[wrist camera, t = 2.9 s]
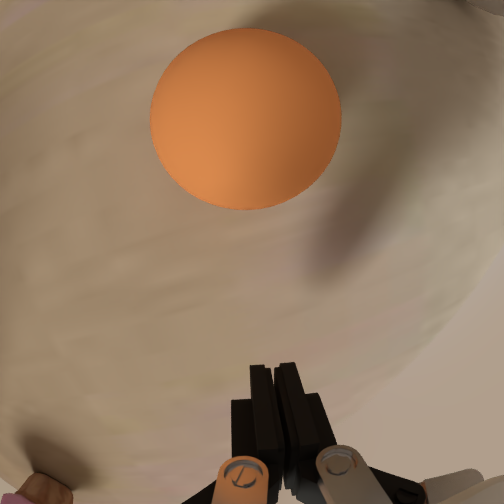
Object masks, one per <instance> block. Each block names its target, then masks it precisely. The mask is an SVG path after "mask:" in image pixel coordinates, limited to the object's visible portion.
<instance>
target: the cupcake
mask: <svg viewBox="0 0 504 504" xmlns="http://www.w3.org/2000/svg"><path fill="white" fill-rule="evenodd" d="M1 504H73V494H72V492H71V490H70V489H69V488H67V487H66V486H65V485H63V484H61V483H60V482H58V481H56V480H54V479H52V478H50V477H49V476H47V475H45V474H41V473H34V474H32V475H31V476H29V477H28V479H27V480H26V481H25V483H24V484H23V485H22V486H21V488H20V489H19V490H18V491H16V492H15V494H12V493H8V494H7V493H6V494H3V496H2V500H1Z"/></svg>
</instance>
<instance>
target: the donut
mask: <svg viewBox="0 0 504 504" xmlns="http://www.w3.org/2000/svg"><path fill="white" fill-rule="evenodd" d="M466 1H467V2H469V3H470V4H472V5H473V6H476V7H478V8H481V9H483V10H485V11H488V12H490V13H492V14H495V15H500V16H504V0H466Z"/></svg>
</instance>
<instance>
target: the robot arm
mask: <svg viewBox="0 0 504 504" xmlns="http://www.w3.org/2000/svg"><path fill="white" fill-rule="evenodd" d="M250 386H251V399H240V400H231V434H232V458H231V459H229V460H227V461H226V462H225V463H224V464H223V465H222V466H221V467H220V470H219V472H218V477H217V480H215V481H214V482H213V483H211V484H210V485H208V486H207V487H206V488H204V489H203V490H201V491H200V492H198V493H197V494H195V495H194V496H192V497H191V498H189V499H188V500H186V501H185V502H183V503H182V504H276V503H277V502H278V493H279V490H281V485H282V477H283V479H284V485H285V489H291V492H292V496H294V495H296V499H297V500H299V501H300V502H302V503H304V504H504V475H501V476H497V477H493V478H490V479H488V480H485V481H484V478H483V476H482V474H481V473H480V472H479V471H477V470H475V469H465V470H462V471H458V472H455V473H451V474H447V475H443V476H439V477H434V478H430V479H425V480H424V481H423V482H420V483H416V482H414V481H411V480H408V479H405V478H401V477H398V476H395V475H392V474H389V473H386V472H383V471H380V470H378V469H375V468H372V467H369V466H367V464H366V462H365V461H364V459H363V458H362V456H361V455H360V454H359V452H358V451H357V450H355V449H354V448H352V447H349V446H346V445H337V442H336V439H335V437H334V434H333V431H332V429H331V426H330V423H329V420H328V418H327V415H326V412H325V410H324V407H323V404H322V401H321V399H320V396H319V394H318V393H310V394H305V393H304V389H303V386H302V383H301V380H300V377H299V374H298V370H297V367H296V364H295V362H290V363H280V365H279V367H275V368H274V384H273V379H272V374H271V369H270V368H265V365H250Z"/></svg>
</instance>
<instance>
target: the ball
mask: <svg viewBox="0 0 504 504" xmlns="http://www.w3.org/2000/svg"><path fill="white" fill-rule="evenodd" d="M150 129H151V135H152V140H153V144H154V147H155V149H156V152H157V155H158V157H159V159H160V161H161V162H162V164H163V166H164V168H165V169H166V170H167V172H168V173H169V174H170V176H171V177H172V178H173V179H174V180H175V181H176V182H177V183H178V184H179V185H180V186H181V187H182V188H184V189H185V190H186V191H188V192H189V193H190V194H192V195H194V196H195V197H197V198H199V199H201V200H203V201H205V202H208V203H210V204H213V205H216V206H220V207H223V208H229V209H236V210H253V209H262V208H266V207H271V206H275V205H277V204H280V203H283V202H285V201H287V200H289V199H291V198H293V197H295V196H297V195H298V194H300V193H301V192H303V191H304V190H305V189H307V188H308V187H309V186H310V185H312V184H313V183H314V182H315V181H316V180H317V179H318V178H319V176H320V175H321V174H322V173H323V172H324V171H325V169H326V167H327V166H328V164H329V163H330V161H331V159H332V157H333V155H334V152H335V150H336V147H337V144H338V140H339V137H340V131H341V106H340V100H339V97H338V93H337V90H336V88H335V85H334V83H333V80H332V79H331V77H330V75H329V73H328V72H327V70H326V69H325V67H324V66H323V65H322V63H321V62H320V61H319V60H318V59H317V58H316V57H315V56H314V55H313V54H312V53H311V52H310V51H309V50H308V49H306V48H305V47H304V46H302V45H301V44H299V43H298V42H296V41H294V40H293V39H290V38H288V37H286V36H284V35H281V34H278V33H275V32H272V31H268V30H262V29H253V28H239V29H231V30H225V31H221V32H218V33H214V34H211V35H209V36H207V37H204V38H202V39H200V40H198V41H197V42H195V43H193V44H192V45H190V46H188V47H187V48H186V49H185V50H183V51H182V52H181V53H180V54H179V55H178V56H177V57H176V58H175V59H174V60H173V61H172V62H171V63H170V64H169V66H168V67H167V69H166V70H165V71H164V73H163V75H162V77H161V78H160V80H159V82H158V84H157V87H156V90H155V92H154V95H153V99H152V104H151V110H150Z"/></svg>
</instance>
